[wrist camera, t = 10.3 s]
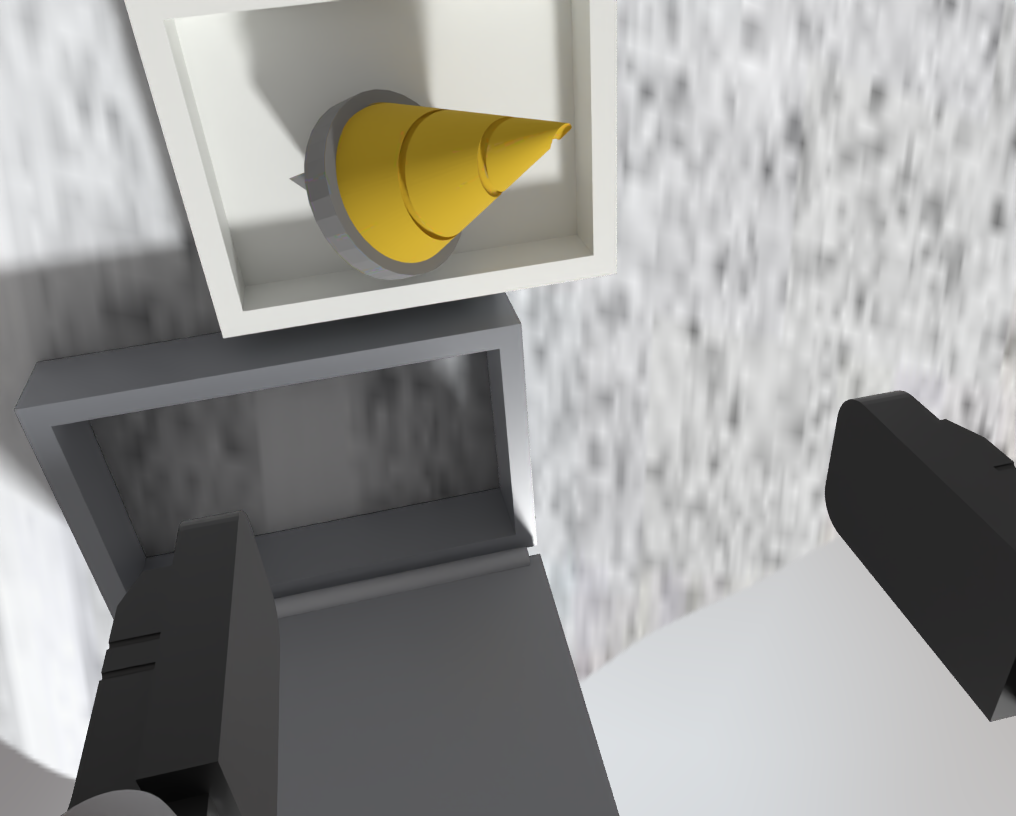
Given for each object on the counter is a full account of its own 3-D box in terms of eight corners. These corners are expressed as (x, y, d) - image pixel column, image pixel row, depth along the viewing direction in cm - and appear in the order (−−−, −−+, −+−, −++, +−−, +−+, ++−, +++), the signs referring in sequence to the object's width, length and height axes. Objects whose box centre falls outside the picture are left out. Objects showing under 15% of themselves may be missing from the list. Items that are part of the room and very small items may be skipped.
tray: (589, -70, 25) (617, -64, 23) (594, 246, 31) (616, 273, 29) (135, -23, 23) (121, -11, 21) (227, 304, 29) (223, 338, 27)
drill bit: (252, 100, 25) (496, -29, 19) (389, 153, 29) (632, 61, 23) (244, 275, 25) (492, 206, 18) (385, 305, 29) (631, 257, 22)
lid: (621, 813, 27) (618, 823, 27) (537, 539, 33) (537, 553, 34) (89, 952, 24) (102, 958, 25) (114, 628, 31) (124, 640, 32)
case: (501, 286, 31) (521, 323, 28) (519, 498, 36) (536, 545, 34) (36, 362, 28) (14, 409, 26) (131, 576, 34) (119, 632, 32)
